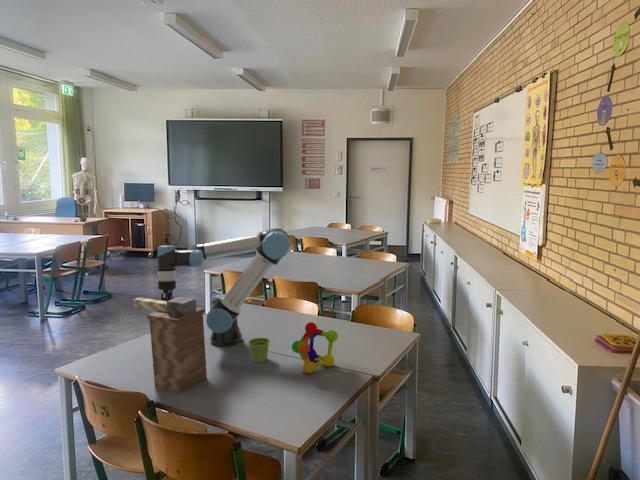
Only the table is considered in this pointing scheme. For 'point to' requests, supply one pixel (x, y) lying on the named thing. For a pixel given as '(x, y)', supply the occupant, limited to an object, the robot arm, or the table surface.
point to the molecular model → (308, 351)
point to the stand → (178, 349)
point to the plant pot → (259, 349)
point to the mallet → (169, 305)
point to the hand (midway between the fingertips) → (167, 327)
